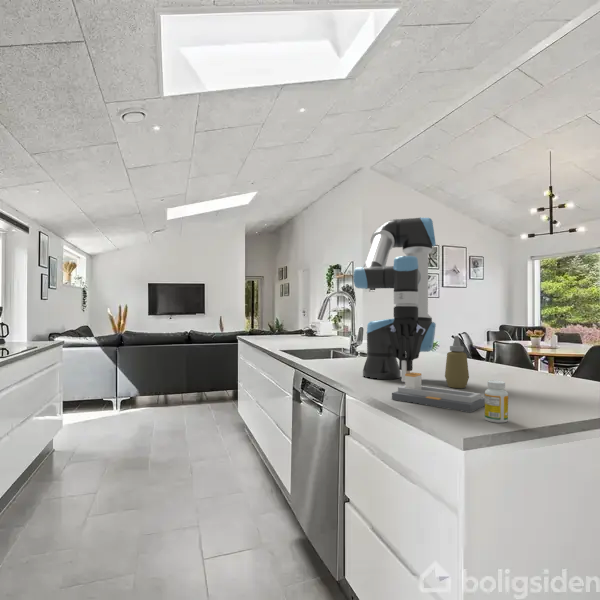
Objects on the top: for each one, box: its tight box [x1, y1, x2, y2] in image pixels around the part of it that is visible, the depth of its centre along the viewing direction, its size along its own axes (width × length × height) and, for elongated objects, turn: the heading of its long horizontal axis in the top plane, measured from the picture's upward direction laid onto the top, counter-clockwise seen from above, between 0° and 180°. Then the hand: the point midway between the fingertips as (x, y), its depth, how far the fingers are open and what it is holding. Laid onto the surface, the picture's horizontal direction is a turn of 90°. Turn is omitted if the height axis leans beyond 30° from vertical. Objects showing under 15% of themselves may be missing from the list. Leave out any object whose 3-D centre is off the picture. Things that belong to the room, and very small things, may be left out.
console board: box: [391, 385, 485, 413], centre depth 131 cm, size 24×12×4 cm, turn 48°
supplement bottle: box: [484, 380, 509, 424], centre depth 110 cm, size 5×5×10 cm
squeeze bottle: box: [444, 335, 470, 389], centre depth 156 cm, size 8×8×18 cm
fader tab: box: [404, 371, 422, 390], centre depth 136 cm, size 3×4×5 cm
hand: (405, 381), depth 138 cm, fingers closed
